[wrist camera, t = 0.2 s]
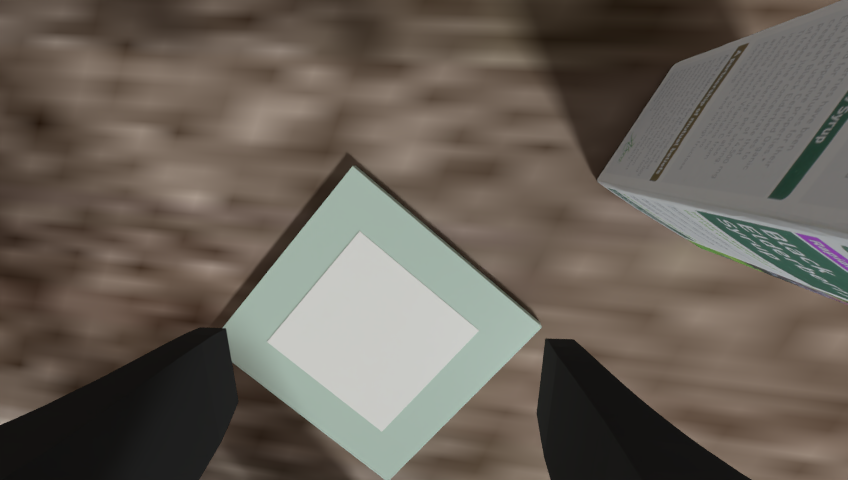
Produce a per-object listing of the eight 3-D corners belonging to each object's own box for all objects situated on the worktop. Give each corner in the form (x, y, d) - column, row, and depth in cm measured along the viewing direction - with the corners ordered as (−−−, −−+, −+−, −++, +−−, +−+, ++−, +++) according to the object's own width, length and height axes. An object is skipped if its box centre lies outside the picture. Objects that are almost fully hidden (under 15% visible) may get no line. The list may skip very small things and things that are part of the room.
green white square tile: (389, 473, 23) (387, 482, 23) (215, 339, 22) (208, 344, 22) (539, 321, 21) (542, 327, 21) (355, 165, 20) (352, 166, 19)
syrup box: (590, 182, 20) (949, 286, 6) (674, 56, 18) (1412, -223, 4) (699, 248, 20) (1300, 505, 6) (789, 128, 19) (1822, 90, 5)
